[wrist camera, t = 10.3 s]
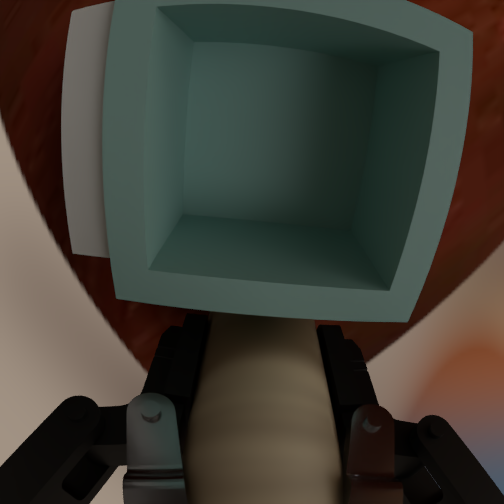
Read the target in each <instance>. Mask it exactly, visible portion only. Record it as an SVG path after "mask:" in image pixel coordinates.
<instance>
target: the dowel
mask: <svg viewBox="0 0 504 504" xmlns="http://www.w3.org/2000/svg"><path fill="white" fill-rule="evenodd" d="M182 461H183V468H184V476H185V483H186V489H187V495H188V501H189V504H343V466H342V460H341V453H340V448H339V442H338V436H337V430H336V425H335V419H334V414H333V409H332V403H331V398H330V393H329V388H328V383H327V378H326V373H325V368H324V363H323V359H322V354H321V349H320V345H319V340H318V336H317V331H316V327H315V322H314V319H301V318H285V317H271V316H259V315H247V314H236V313H226V312H216V311H210V313H209V318H208V325H207V330H206V335H205V340H204V344H203V349H202V355H201V360H200V365H199V370H198V375H197V380H196V385H195V391H194V396H193V401H192V407H191V411H190V415H189V420H188V426H187V431H186V437H185V443H184V449H183V454H182Z"/></svg>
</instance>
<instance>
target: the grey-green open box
mask: <svg viewBox="0 0 504 504" xmlns="http://www.w3.org/2000/svg"><path fill="white" fill-rule="evenodd" d="M472 58H473V32H471V31H470V30H468V29H466V28H464V27H462V26H461V25H459V24H457V23H455V22H453V21H451V20H449V19H447V18H445V17H443V16H441V15H439V14H437V13H434V12H432V11H430V10H428V9H425V8H423V7H421V6H418V5H416V4H414V3H411V2H409V1H406V0H115V4H114V10H113V15H112V21H111V28H110V34H109V42H108V50H107V58H106V68H105V80H104V95H103V119H102V165H103V189H104V205H105V217H106V228H107V238H108V246H109V254H110V262H111V269H112V276H113V282H114V288H115V294H116V299H122V300H129V301H135V302H142V303H150V304H157V305H164V306H172V307H180V308H189V309H197V310H206V311H216V312H226V313H236V314H247V315H259V316H271V317H285V318H301V319H318V320H340V321H371V322H408V320H409V318H410V315H411V313H412V311H413V309H414V306H415V304H416V302H417V299H418V297H419V294H420V292H421V290H422V287H423V285H424V282H425V279H426V277H427V274H428V272H429V269H430V266H431V263H432V261H433V258H434V255H435V252H436V249H437V246H438V243H439V240H440V237H441V234H442V231H443V227H444V224H445V221H446V217H447V214H448V210H449V207H450V203H451V199H452V195H453V191H454V187H455V183H456V179H457V174H458V170H459V165H460V160H461V155H462V150H463V144H464V138H465V132H466V125H467V118H468V110H469V102H470V91H471V79H472Z"/></svg>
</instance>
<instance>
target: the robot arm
mask: <svg viewBox="0 0 504 504" xmlns="http://www.w3.org/2000/svg"><path fill="white" fill-rule="evenodd" d="M207 325H208V316H207V315H198V314H190V313H187V314H186V317H185V320H184V324H183V327H178V326H170V327H169V328H168V329H167V330H166V331H165V332H164V333H163V334H162V336H161V338H160V341H159V344H158V348H157V350H156V352H155V357H154V358H153V361H152V364H151V367H150V370H149V373H148V375H147V379H146V381H145V384H144V387H143V390H142V392H141V394H140V395H138V396H136V397H135V398H134V399H132V401H131V402H130V403H129V404H126V405H122V406H112V407H98V405H97V404H96V403H95V402H94V401H93V400H92V399H90V398H88V397H85V396H73V397H70V398H68V399H66V400H64V401H63V402H62V403H61V404H60V405H59V406H58V407H57V408H56V409H55V410H54V411H53V412H52V413H51V414H50V415H49V416H48V417H47V418H46V419H45V420H44V421H43V423H41V425H40V426H39V427H38V428H37V429H36V430H35V431H34V432H33V433H32V434H31V435H30V436H29V437H28V438H27V439H26V440H25V441H24V442H23V443H22V444H21V445H20V446H19V448H18V449H17V450H16V451H15V452H14V453H13V454H12V455H11V456H10V457H9V458H8V459H7V460H6V461H5V462H4V463H3V465H2V466H1V467H0V504H89V503H90V502H91V501H92V500H93V498H94V497H95V496H96V494H97V493H98V492H99V491H100V489H101V488H102V487H103V485H104V484H105V483H106V482H107V480H108V479H109V478H110V476H111V475H112V474H113V472H114V471H115V470H116V469H117V467H118V466H120V465H121V466H123V465H127V473H126V474H125V475H124V477H123V498H124V504H189V501H188V495H187V489H186V483H185V476H184V468H183V461H182V454H183V449H184V443H185V437H186V431H187V426H188V420H189V415H190V411H191V407H192V401H193V396H194V391H195V385H196V380H197V375H198V370H199V365H200V360H201V355H202V349H203V344H204V340H205V335H206V330H207ZM317 336H318V340H319V345H320V349H321V354H322V359H323V363H324V368H325V373H326V378H327V383H328V388H329V393H330V398H331V403H332V409H333V414H334V419H335V425H336V430H337V436H338V442H339V448H340V453H341V460H342V466H343V504H504V495H503V494H502V493H501V491H500V490H499V488H498V487H497V486H496V484H495V483H494V482H493V480H492V479H491V478H490V476H489V475H488V474H487V472H486V471H485V470H484V468H483V467H482V466H481V464H480V463H479V462H478V460H477V459H476V458H475V456H474V455H473V454H472V453H471V451H470V450H469V449H468V448H467V446H466V445H465V444H464V442H463V441H462V440H461V438H460V437H459V436H458V435H457V433H456V432H455V431H454V430H453V428H452V427H451V426H450V425H449V423H448V422H447V421H446V420H445V419H443V418H441V417H439V416H436V415H429V416H425V417H424V418H422V419H421V420H420V421H419V423H418V424H417V423H411V422H405V421H399V420H395V419H393V418H392V415H391V414H390V413H389V412H388V411H387V410H386V409H385V408H383V407H381V406H379V404H378V401H377V398H376V395H375V392H374V388H373V385H372V382H371V379H370V376H369V373H368V371H367V367H366V364H365V362H364V358H363V355H362V352H361V349H360V348H359V347H358V346H357V345H356V344H355V342H354V341H353V340H352V339H344V336H343V333H342V330H341V327H340V326H339V325H319V326H318V328H317ZM425 467H426V468H427V469H426V468H425ZM427 470H428V471H429V472H428V471H427ZM430 474H431V475H432V476H431V475H430ZM432 477H433V478H434V479H433V478H432ZM435 481H436V482H435ZM437 484H438V485H439V486H438V485H437ZM439 487H440V488H441V489H440V488H439Z"/></svg>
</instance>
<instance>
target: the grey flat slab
mask: <svg viewBox="0 0 504 504" xmlns="http://www.w3.org/2000/svg"><path fill="white" fill-rule="evenodd" d="M114 4H115V1H112V2H107V3H102V4H98V5H94V6H89V7H85V8H82V9H78V10H74V11H72V15H71V20H70V26H69V32H68V39H67V46H66V54H65V63H64V74H63V87H62V110H61V146H62V169H63V183H64V194H65V204H66V212H67V220H68V228H69V234H70V241H71V247H72V252H73V254H81V255H89V256H97V257H106V258H110V254H109V246H108V238H107V228H106V217H105V205H104V189H103V165H102V119H103V95H104V80H105V68H106V58H107V50H108V42H109V34H110V28H111V21H112V15H113V10H114Z"/></svg>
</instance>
